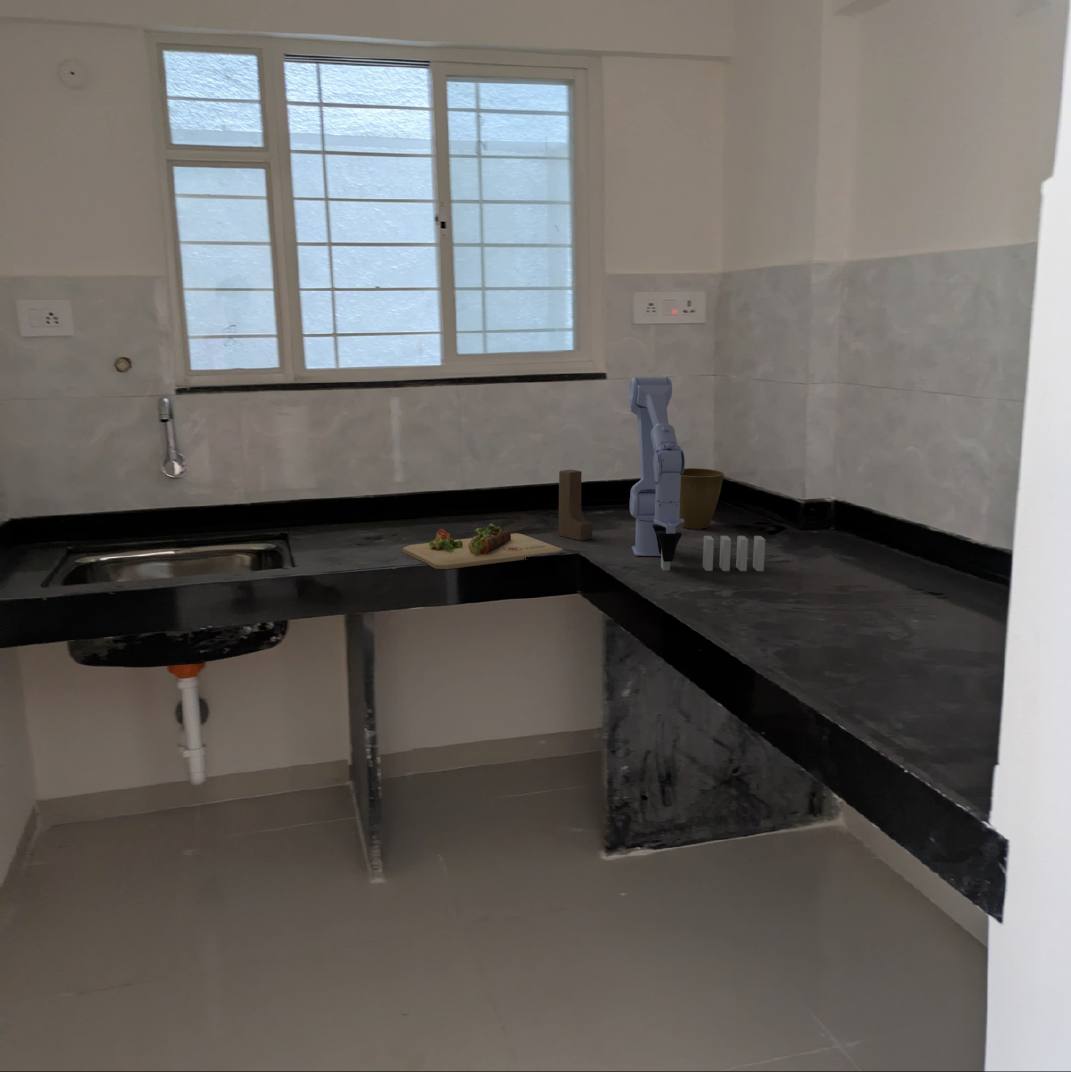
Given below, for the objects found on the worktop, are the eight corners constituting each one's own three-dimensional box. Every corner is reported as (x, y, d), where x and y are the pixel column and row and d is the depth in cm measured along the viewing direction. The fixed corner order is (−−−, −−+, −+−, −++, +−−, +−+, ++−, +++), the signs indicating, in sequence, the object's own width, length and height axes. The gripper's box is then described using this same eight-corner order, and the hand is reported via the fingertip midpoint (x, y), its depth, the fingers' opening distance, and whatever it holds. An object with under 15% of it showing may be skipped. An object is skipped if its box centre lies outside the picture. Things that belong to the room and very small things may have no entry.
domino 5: (752, 566, 235) (754, 536, 234) (759, 566, 235) (761, 536, 234) (756, 571, 231) (758, 539, 229) (763, 571, 231) (765, 539, 229)
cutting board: (438, 573, 230) (438, 541, 229) (400, 553, 250) (399, 524, 249) (565, 556, 248) (566, 527, 246) (520, 539, 267) (520, 512, 266)
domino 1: (660, 566, 235) (661, 535, 234) (667, 566, 235) (668, 535, 234) (663, 570, 231) (664, 539, 229) (669, 570, 231) (671, 539, 229)
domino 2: (702, 566, 235) (703, 535, 234) (709, 566, 235) (710, 535, 234) (705, 570, 231) (707, 539, 229) (712, 570, 231) (713, 539, 229)
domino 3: (719, 566, 235) (720, 535, 234) (726, 566, 235) (727, 535, 234) (722, 570, 231) (724, 539, 229) (729, 570, 231) (731, 539, 229)
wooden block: (592, 538, 265) (593, 472, 262) (580, 541, 263) (581, 474, 259) (569, 533, 272) (570, 469, 268) (557, 535, 269) (558, 470, 266)
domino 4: (736, 566, 235) (737, 535, 234) (742, 566, 235) (744, 535, 234) (739, 571, 231) (741, 539, 229) (746, 571, 231) (748, 539, 229)
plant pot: (659, 524, 286) (660, 469, 282) (702, 520, 292) (704, 467, 288) (687, 534, 272) (689, 476, 269) (732, 529, 279) (734, 473, 275)
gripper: (689, 506, 223) (687, 564, 225) (680, 496, 237) (678, 551, 240) (658, 506, 223) (656, 564, 225) (650, 495, 237) (649, 551, 240)
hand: (665, 557), depth 232 cm, fingers open, 7 cm apart
